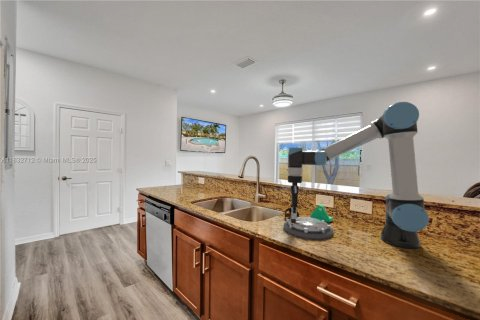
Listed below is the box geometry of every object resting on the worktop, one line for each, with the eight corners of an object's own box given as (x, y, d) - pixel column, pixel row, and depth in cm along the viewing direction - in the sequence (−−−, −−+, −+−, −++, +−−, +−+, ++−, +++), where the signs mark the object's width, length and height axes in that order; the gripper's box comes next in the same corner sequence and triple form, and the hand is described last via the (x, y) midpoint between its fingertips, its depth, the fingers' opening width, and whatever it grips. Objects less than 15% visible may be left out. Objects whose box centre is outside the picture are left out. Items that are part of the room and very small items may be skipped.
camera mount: (332, 221, 132) (333, 205, 132) (329, 223, 126) (329, 207, 126) (314, 217, 140) (314, 202, 140) (310, 219, 134) (310, 204, 134)
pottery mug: (302, 221, 131) (297, 211, 129) (288, 226, 133) (283, 216, 131) (298, 212, 143) (293, 202, 141) (285, 217, 144) (281, 207, 142)
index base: (344, 236, 105) (344, 230, 105) (302, 242, 97) (302, 235, 97) (311, 221, 130) (311, 216, 130) (275, 224, 121) (275, 219, 121)
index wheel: (319, 220, 124) (319, 209, 124) (336, 233, 102) (337, 219, 102) (283, 219, 124) (283, 208, 124) (293, 232, 102) (293, 218, 102)
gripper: (287, 174, 118) (286, 215, 118) (288, 175, 105) (287, 221, 105) (300, 174, 117) (299, 216, 117) (303, 176, 104) (302, 222, 104)
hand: (294, 218), depth 111 cm, fingers closed
